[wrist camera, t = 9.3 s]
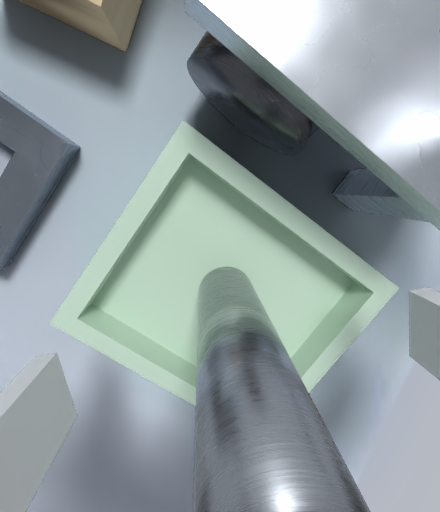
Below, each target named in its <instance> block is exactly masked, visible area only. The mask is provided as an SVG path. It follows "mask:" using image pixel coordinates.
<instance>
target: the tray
mask: <svg viewBox="0 0 440 512" xmlns="http://www.w3.org/2000/svg"><path fill="white" fill-rule="evenodd" d="M219 267H233V268H237V269H239V270H241V271H242V272H243V273H245V274H246V275H247V277H248V278H249V280H250V281H251V283H252V285H253V287H254V289H255V291H256V293H257V295H258V297H259V299H260V301H261V303H262V304H263V306H264V308H265V310H266V312H267V314H268V316H269V318H270V320H271V322H272V324H273V326H274V328H275V329H276V331H277V333H278V335H279V337H280V339H281V341H282V343H283V345H284V347H285V349H286V351H287V352H288V354H289V356H290V358H291V360H292V362H293V364H294V366H295V368H296V370H297V372H298V374H299V376H300V377H301V379H302V381H303V383H304V385H305V387H306V389H307V391H308V393H309V392H310V391H311V390H312V389H313V388H314V386H315V385H316V384H317V383H318V382H319V381H320V380H321V378H322V377H323V376H324V375H325V374H326V373H327V371H328V370H329V369H330V368H331V367H332V366H333V364H334V363H335V362H336V361H337V360H338V359H339V358H340V356H341V355H342V354H343V353H344V352H345V351H346V349H347V348H348V347H349V346H350V345H351V344H352V343H353V341H354V340H355V339H356V338H357V337H358V336H359V334H360V333H361V332H362V331H363V330H364V329H365V327H366V326H367V325H368V324H369V323H370V322H371V321H372V319H373V318H374V317H375V316H376V315H377V314H378V312H379V311H380V310H381V309H382V308H383V307H384V306H385V304H386V303H387V302H388V301H389V300H390V299H391V297H392V296H393V295H394V294H395V293H396V292H397V290H398V289H399V287H398V286H396V285H395V284H394V283H392V282H391V281H390V280H389V279H387V278H386V277H385V276H383V275H382V274H381V273H379V272H378V271H377V270H376V269H374V268H373V267H372V266H370V265H369V264H368V263H367V262H365V261H364V260H363V259H361V258H360V257H359V256H358V255H356V254H355V253H354V252H352V251H351V250H350V249H349V248H347V247H346V246H345V245H343V244H342V243H341V242H340V241H338V240H337V239H336V238H334V237H333V236H332V235H331V234H329V233H328V232H327V231H325V230H324V229H323V228H322V227H320V226H319V225H318V224H316V223H315V222H314V221H313V220H311V219H310V218H309V217H307V216H306V215H305V214H304V213H302V212H301V211H300V210H298V209H297V208H296V207H294V206H293V205H292V204H291V203H289V202H288V201H287V200H285V199H284V198H283V197H282V196H280V195H279V194H278V193H276V192H275V191H274V190H273V189H271V188H270V187H269V186H267V185H266V184H265V183H264V182H262V181H261V180H260V179H258V178H257V177H256V176H255V175H253V174H252V173H251V172H249V171H248V170H247V169H246V168H244V167H243V166H242V165H240V164H239V163H238V162H237V161H235V160H234V159H233V158H231V157H230V156H229V155H228V154H226V153H225V152H224V151H222V150H221V149H220V148H218V147H217V146H216V145H215V144H213V143H212V142H211V141H209V140H208V139H207V138H206V137H204V136H203V135H202V134H200V133H199V132H198V131H197V130H195V129H194V128H193V127H191V126H190V125H189V124H188V123H186V122H185V121H184V120H183V121H182V122H181V124H180V125H179V127H178V128H177V130H176V131H175V133H174V135H173V136H172V138H171V139H170V141H169V142H168V144H167V145H166V147H165V148H164V150H163V151H162V153H161V154H160V156H159V157H158V159H157V160H156V162H155V163H154V165H153V166H152V168H151V170H150V171H149V173H148V174H147V176H146V177H145V179H144V180H143V182H142V183H141V185H140V186H139V188H138V189H137V191H136V192H135V194H134V195H133V197H132V198H131V200H130V202H129V203H128V205H127V206H126V208H125V209H124V211H123V212H122V214H121V215H120V217H119V218H118V220H117V221H116V223H115V224H114V226H113V227H112V229H111V230H110V232H109V233H108V235H107V237H106V238H105V240H104V241H103V243H102V244H101V246H100V247H99V249H98V250H97V252H96V253H95V255H94V256H93V258H92V259H91V261H90V262H89V264H88V265H87V267H86V268H85V270H84V272H83V273H82V275H81V276H80V278H79V279H78V281H77V282H76V284H75V285H74V287H73V288H72V290H71V291H70V293H69V294H68V296H67V297H66V299H65V300H64V302H63V304H62V305H61V307H60V308H59V310H58V311H57V313H56V314H55V316H54V317H53V319H52V320H51V322H50V323H49V324H51V325H53V326H55V327H56V328H58V329H60V330H62V331H63V332H65V333H67V334H69V335H70V336H72V337H74V338H76V339H78V340H79V341H81V342H83V343H85V344H86V345H88V346H90V347H92V348H93V349H95V350H97V351H99V352H100V353H102V354H104V355H106V356H107V357H109V358H111V359H113V360H115V361H116V362H118V363H120V364H122V365H123V366H125V367H127V368H129V369H130V370H132V371H134V372H136V373H137V374H139V375H141V376H143V377H145V378H146V379H148V380H150V381H152V382H153V383H155V384H157V385H159V386H160V387H162V388H164V389H166V390H167V391H169V392H171V393H173V394H174V395H176V396H178V397H180V398H182V399H183V400H185V401H187V402H189V403H190V404H192V405H194V406H196V374H197V336H198V299H199V287H200V284H201V281H202V280H203V278H204V277H205V276H206V275H207V274H208V273H209V272H210V271H212V270H214V269H216V268H219Z"/></svg>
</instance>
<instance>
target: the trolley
mask: <svg viewBox="0 0 440 512" xmlns="http://www.w3.org/2000/svg"><path fill="white" fill-rule="evenodd" d="M185 12H186V13H187V14H188V15H189V16H191V17H192V18H193V19H194V20H195V21H196V22H198V23H199V24H200V25H201V26H202V27H203V28H204V29H206V30H207V31H206V33H205V34H204V36H203V37H202V39H201V41H200V42H199V44H198V45H197V47H196V48H195V50H194V52H193V53H192V55H191V56H190V58H189V59H188V61H187V68H188V71H189V74H190V76H191V78H192V79H193V81H194V83H195V84H196V86H197V87H198V88H199V90H200V91H201V92H202V93H203V95H204V96H205V97H206V98H207V99H208V100H209V101H210V103H211V104H212V105H213V106H214V107H215V108H216V109H217V110H218V111H219V112H220V113H222V114H223V115H224V116H225V117H226V118H227V119H228V120H229V121H231V122H232V123H233V124H234V125H235V126H237V127H238V128H239V129H240V130H242V131H243V132H245V133H246V134H247V135H249V136H250V137H252V138H253V139H255V140H256V141H258V142H259V143H261V144H263V145H265V146H266V147H268V148H270V149H272V150H275V151H277V152H280V153H283V154H287V155H295V154H297V153H298V152H299V151H300V149H301V148H302V146H303V145H304V144H305V142H306V141H307V140H308V138H309V137H310V136H311V134H312V133H313V132H314V130H315V129H316V127H317V126H319V127H320V128H321V129H322V130H323V131H324V132H326V133H327V134H328V135H329V136H330V137H331V138H333V139H334V140H335V141H336V142H337V143H338V144H340V145H341V146H342V147H343V148H344V149H345V150H347V151H348V152H349V153H350V154H351V155H352V156H354V157H355V158H356V159H357V160H358V161H359V162H361V163H362V164H363V165H364V166H365V167H366V168H368V169H362V170H353V171H350V172H349V173H348V174H347V175H346V177H345V178H344V179H343V181H342V182H341V183H340V184H339V186H338V187H337V188H336V190H335V191H334V192H333V193H332V194H333V195H334V196H335V197H336V198H338V199H339V200H340V201H341V202H343V203H344V204H345V205H346V206H347V207H349V208H350V209H351V210H354V211H360V212H367V213H373V214H380V215H386V216H393V217H399V218H406V219H413V220H419V221H426V222H430V223H432V224H433V225H434V226H435V227H436V228H437V229H439V230H440V0H185Z"/></svg>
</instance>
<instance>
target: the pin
mask: <svg viewBox="0 0 440 512" xmlns="http://www.w3.org/2000/svg"><path fill="white" fill-rule="evenodd" d="M193 512H370V510H369V508H368V506H367V504H366V502H365V500H364V499H363V497H362V495H361V493H360V491H359V489H358V487H357V485H356V483H355V481H354V479H353V477H352V475H351V474H350V472H349V470H348V468H347V466H346V464H345V462H344V460H343V458H342V456H341V454H340V452H339V450H338V449H337V447H336V445H335V443H334V441H333V439H332V437H331V435H330V433H329V431H328V429H327V427H326V425H325V424H324V422H323V420H322V418H321V416H320V414H319V412H318V410H317V408H316V406H315V404H314V402H313V401H312V399H311V397H310V395H309V393H308V391H307V389H306V387H305V385H304V383H303V381H302V379H301V377H300V376H299V374H298V372H297V370H296V368H295V366H294V364H293V362H292V360H291V358H290V356H289V354H288V352H287V351H286V349H285V347H284V345H283V343H282V341H281V339H280V337H279V335H278V333H277V331H276V329H275V328H274V326H273V324H272V322H271V320H270V318H269V316H268V314H267V312H266V310H265V308H264V306H263V304H262V303H261V301H260V299H259V297H258V295H257V293H256V291H255V289H254V287H253V285H252V283H251V281H250V280H249V278H248V277H247V275H246V274H245V273H243V272H242V271H241V270H239V269H237V268H233V267H219V268H216V269H214V270H212V271H210V272H209V273H208V274H207V275H206V276H205V277H204V278H203V280H202V281H201V284H200V287H199V299H198V336H197V374H196V412H195V449H194V487H193Z"/></svg>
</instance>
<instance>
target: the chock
mask: <svg viewBox="0 0 440 512" xmlns="http://www.w3.org/2000/svg"><path fill="white" fill-rule="evenodd" d="M18 1H20V2H22V3H24V4H26V5H28V6H30V7H32V8H35V9H37V10H39V11H41V12H43V13H45V14H47V15H49V16H51V17H53V18H55V19H58V20H60V21H62V22H64V23H66V24H68V25H70V26H72V27H74V28H76V29H79V30H81V31H83V32H85V33H87V34H89V35H91V36H93V37H95V38H97V39H99V40H102V41H104V42H106V43H108V44H110V45H112V46H114V47H116V48H118V49H120V50H122V51H125V52H126V51H127V47H128V44H129V41H130V38H131V35H132V32H133V28H134V25H135V22H136V19H137V16H138V13H139V9H140V6H141V3H142V0H18Z"/></svg>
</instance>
